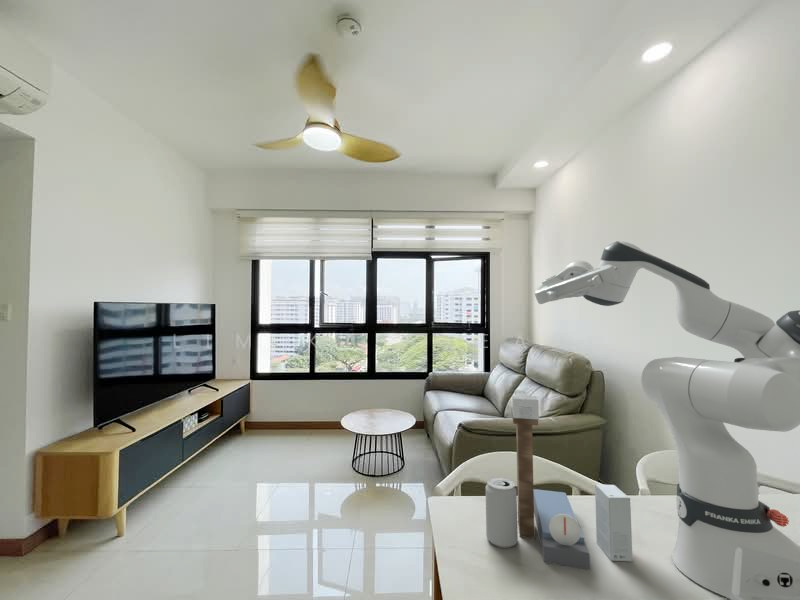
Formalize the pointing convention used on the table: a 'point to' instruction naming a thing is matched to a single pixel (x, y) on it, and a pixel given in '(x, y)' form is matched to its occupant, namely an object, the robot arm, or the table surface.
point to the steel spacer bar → (524, 405)
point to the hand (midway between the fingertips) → (572, 290)
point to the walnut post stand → (525, 475)
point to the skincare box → (613, 522)
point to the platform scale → (559, 530)
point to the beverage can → (501, 512)
